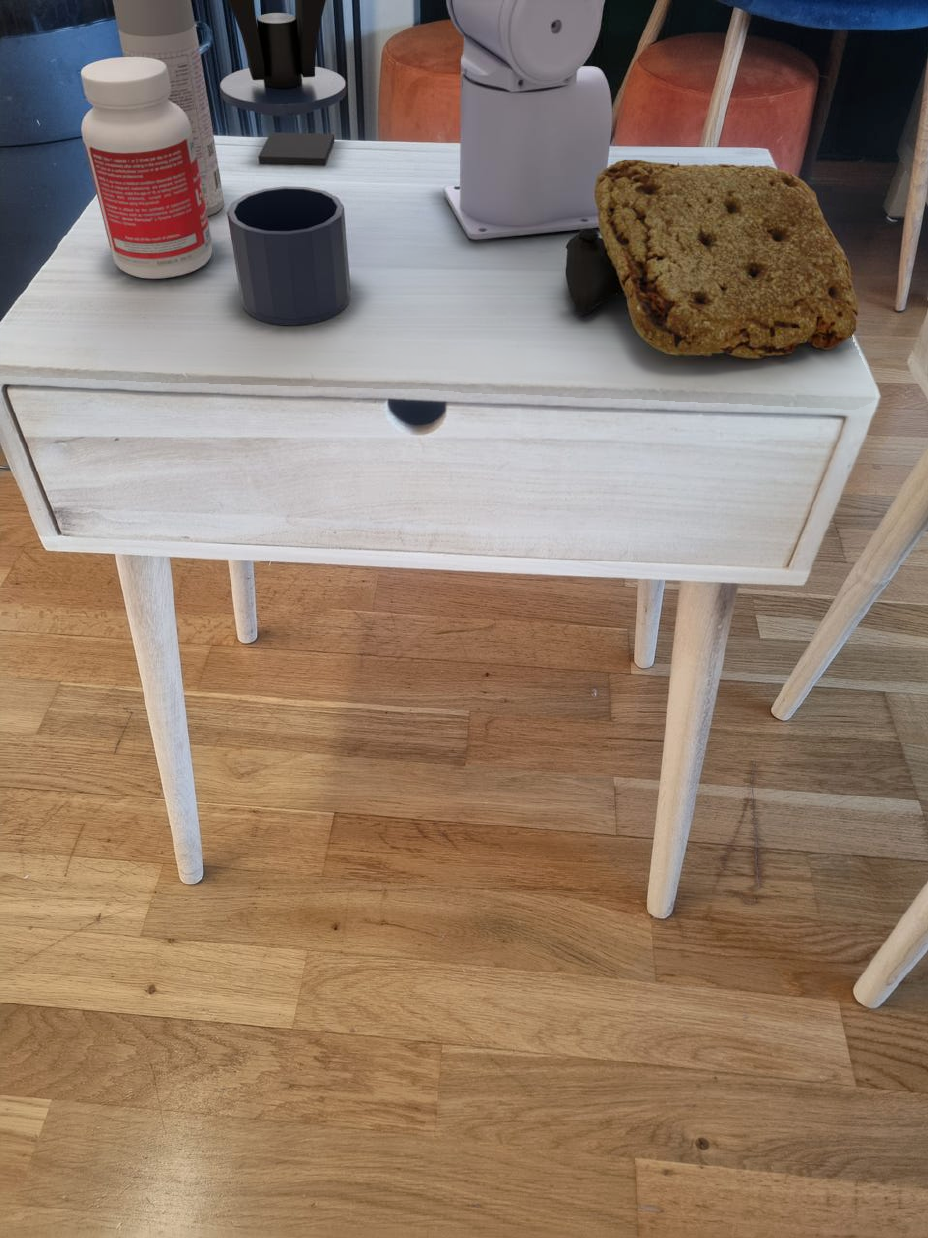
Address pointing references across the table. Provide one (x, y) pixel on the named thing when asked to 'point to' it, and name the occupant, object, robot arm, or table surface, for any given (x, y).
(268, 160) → the coaster
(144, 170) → the pill bottle
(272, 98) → the lid
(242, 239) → the tin
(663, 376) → the table surface
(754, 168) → the pastry
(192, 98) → the container
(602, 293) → the gaming controller
